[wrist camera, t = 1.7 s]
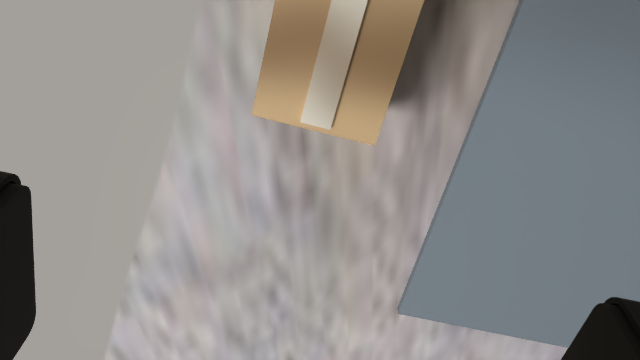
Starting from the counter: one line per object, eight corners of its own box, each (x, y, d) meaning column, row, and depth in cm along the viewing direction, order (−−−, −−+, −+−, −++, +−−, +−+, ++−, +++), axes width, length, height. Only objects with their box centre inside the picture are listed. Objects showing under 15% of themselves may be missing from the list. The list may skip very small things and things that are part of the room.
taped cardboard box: (300, -88, 22) (290, -74, 19) (422, -53, 23) (436, -33, 19) (265, 78, 26) (250, 117, 22) (371, 105, 26) (374, 148, 22)
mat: (569, -125, 21) (573, -124, 21) (961, -22, 22) (970, -19, 22) (397, 308, 32) (398, 313, 32) (662, 361, 33) (666, 367, 33)
